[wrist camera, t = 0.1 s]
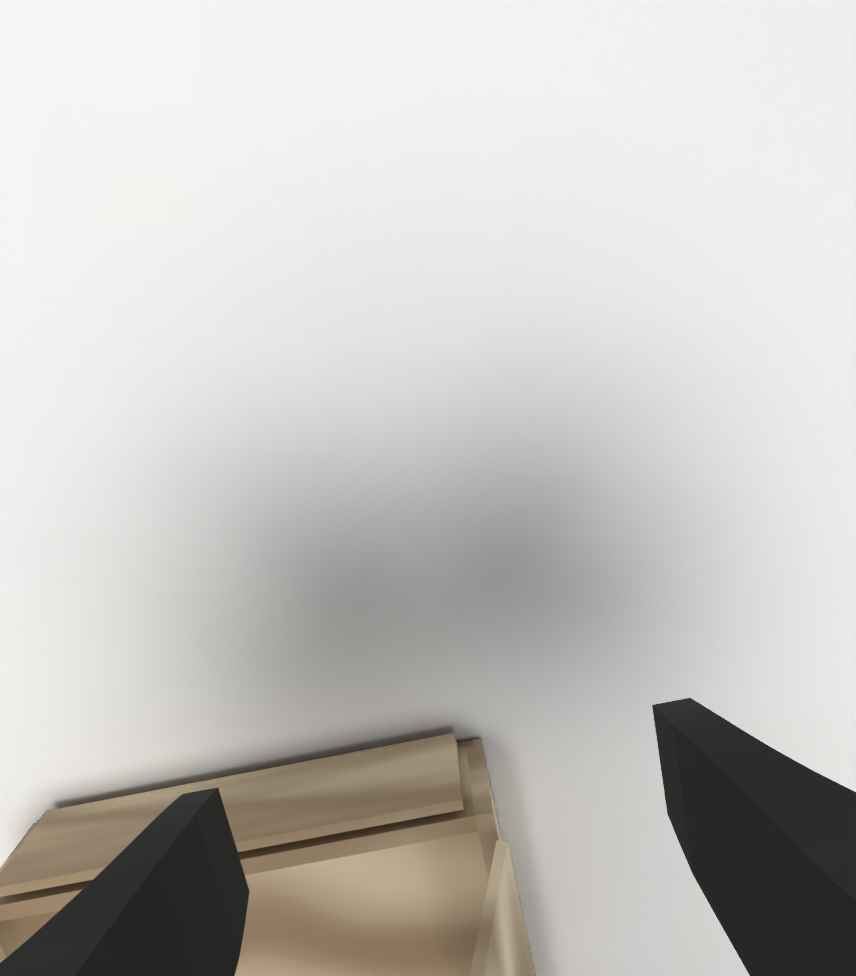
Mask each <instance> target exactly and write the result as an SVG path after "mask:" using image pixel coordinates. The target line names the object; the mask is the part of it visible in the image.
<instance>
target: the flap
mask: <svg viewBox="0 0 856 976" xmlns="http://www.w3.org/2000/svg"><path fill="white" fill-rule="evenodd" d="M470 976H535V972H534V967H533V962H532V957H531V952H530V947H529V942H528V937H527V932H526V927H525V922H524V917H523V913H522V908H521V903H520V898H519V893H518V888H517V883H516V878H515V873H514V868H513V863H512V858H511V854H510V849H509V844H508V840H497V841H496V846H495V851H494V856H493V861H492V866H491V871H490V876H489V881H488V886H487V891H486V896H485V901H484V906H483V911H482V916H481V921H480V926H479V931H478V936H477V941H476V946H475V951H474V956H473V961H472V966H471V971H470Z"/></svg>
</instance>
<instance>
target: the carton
mask: <svg viewBox="0 0 856 976" xmlns="http://www.w3.org/2000/svg"><path fill="white" fill-rule="evenodd" d="M217 787H218V788H219V792H220V795H221V798H222V802H223V805H224V808H225V812H226V815H227V818H228V822H229V825H230V828H231V832H232V835H233V838H234V841H235V845H236V848H237V851H238V855H239V858H240V861H241V865H242V868H243V871H244V875H245V878H246V881H247V885H248V888H249V891H250V892H249V899H248V906H247V913H246V920H245V927H244V933H243V939H242V945H241V951H240V957H239V961H238V964H237V968H236V972H235V976H470V971H471V966H472V961H473V956H474V951H475V946H476V941H477V936H478V931H479V926H480V921H481V916H482V911H483V906H484V901H485V896H486V891H487V886H488V881H489V876H490V871H491V866H492V861H493V856H494V851H495V846H496V841H497V840H502V838H501V833H500V828H499V824H498V819H497V814H496V809H495V804H494V799H493V794H492V790H491V785H490V780H489V775H488V770H487V765H486V760H485V756H484V751H483V746H482V741H481V738H480V739H474V740H469V741H464V742H459V743H457V741H456V736H455V733H450V734H445V735H440V736H435V737H429V738H424V739H419V740H414V741H409V742H403V743H398V744H393V745H388V746H383V747H377V748H372V749H367V750H362V751H356V752H351V753H346V754H341V755H336V756H330V757H325V758H320V759H315V760H309V761H304V762H299V763H294V764H289V765H283V766H278V767H273V768H268V769H262V770H257V771H252V772H247V773H242V774H236V775H231V776H226V777H221V778H215V779H210V780H205V781H200V782H195V783H189V784H184V785H179V786H174V787H169V788H163V789H158V790H153V791H148V792H142V793H137V794H132V795H127V796H122V797H116V798H111V799H106V800H101V801H95V802H90V803H85V804H80V805H75V806H69V807H64V808H59V809H54V810H48V811H46V812H45V813H44V815H43V816H42V817H41V819H40V820H39V822H38V823H35V824H33V825H32V827H31V828H30V829H29V831H28V832H27V833H26V835H25V836H24V837H23V839H22V840H21V841H20V843H19V844H18V845H17V847H16V848H15V849H14V851H13V852H12V853H11V855H10V856H9V857H8V859H7V860H6V861H5V863H4V864H3V865H2V867H1V868H0V963H1V962H2V961H3V960H4V959H5V958H7V957H8V956H9V955H10V954H11V953H13V952H14V951H15V950H16V949H17V948H19V947H20V946H21V945H22V944H23V943H24V942H26V941H27V940H28V939H29V938H30V937H31V936H32V935H34V934H35V933H36V932H37V931H38V930H39V929H40V928H41V927H42V926H43V925H44V924H46V923H47V922H48V921H49V920H50V919H51V918H52V917H53V916H54V915H55V914H57V913H58V912H59V911H60V910H61V909H62V908H63V907H64V906H65V905H66V904H67V903H69V902H70V901H71V900H72V899H73V898H74V897H75V896H76V895H77V894H78V893H79V892H81V891H82V890H83V889H84V888H85V887H86V886H87V885H88V884H89V883H90V882H91V881H92V880H93V879H94V878H95V877H96V876H97V875H98V874H99V873H100V872H101V871H102V870H103V869H104V868H106V867H107V866H108V865H109V864H110V863H111V862H112V861H113V860H114V859H115V858H116V857H117V856H118V855H119V854H120V853H121V852H122V851H123V850H124V849H125V848H126V847H127V846H128V845H129V844H130V843H131V842H132V841H133V840H134V839H135V838H136V837H137V836H138V835H139V834H140V833H141V832H142V831H143V830H144V829H145V828H146V827H147V826H148V825H149V824H150V823H151V822H152V821H153V820H154V819H155V818H156V817H157V816H158V815H159V814H160V813H162V812H163V811H164V810H165V809H166V808H167V807H168V806H169V805H170V804H171V803H172V802H173V801H175V800H176V799H177V798H178V797H179V796H181V795H182V794H185V793H191V792H196V791H201V790H206V789H212V788H217Z"/></svg>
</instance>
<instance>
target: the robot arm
mask: <svg viewBox="0 0 856 976" xmlns="http://www.w3.org/2000/svg"><path fill="white" fill-rule="evenodd" d="M652 706H653V713H654V720H655V727H656V734H657V741H658V749H659V756H660V763H661V770H662V777H663V784H664V791H665V798H666V806H667V813H668V816H669V818H670V821H671V823H672V826H673V828H674V831H675V833H676V835H677V838H678V840H679V843H680V845H681V848H682V850H683V852H684V854H685V857H686V859H687V861H688V864H689V866H690V868H691V871H692V873H693V875H694V877H695V879H696V880H697V882H698V884H699V886H700V888H701V890H702V891H703V893H704V895H705V897H706V898H707V900H708V902H709V904H710V906H711V907H712V909H713V911H714V913H715V915H716V916H717V918H718V920H719V922H720V923H721V925H722V927H723V929H724V931H725V932H726V934H727V936H728V938H729V939H730V941H731V943H732V945H733V946H734V948H735V950H736V952H737V953H738V955H739V957H740V959H741V961H742V962H743V964H744V966H745V968H746V969H747V971H748V973H749V975H750V976H856V792H854V791H852V790H850V789H848V788H846V787H844V786H842V785H840V784H838V783H836V782H834V781H832V780H830V779H828V778H826V777H824V776H822V775H820V774H818V773H816V772H814V771H812V770H811V769H809V768H807V767H805V766H803V765H801V764H800V763H798V762H796V761H794V760H792V759H790V758H789V757H787V756H785V755H783V754H782V753H780V752H778V751H776V750H775V749H773V748H771V747H769V746H768V745H766V744H764V743H763V742H761V741H759V740H758V739H756V738H754V737H753V736H751V735H749V734H748V733H746V732H744V731H743V730H741V729H740V728H738V727H736V726H735V725H733V724H731V723H730V722H728V721H727V720H725V719H723V718H722V717H720V716H719V715H717V714H715V713H714V712H712V711H711V710H709V709H707V708H706V707H704V706H702V705H701V704H699V703H698V702H696V701H694V700H692V699H691V698H688V699H682V700H677V701H672V702H666V703H661V704H656V705H652ZM249 892H250V891H249V888H248V885H247V881H246V878H245V875H244V871H243V868H242V865H241V861H240V858H239V855H238V851H237V848H236V845H235V841H234V838H233V835H232V832H231V828H230V825H229V822H228V818H227V815H226V812H225V808H224V805H223V802H222V798H221V795H220V792H219V788H218V787H217V788H212V789H206V790H201V791H196V792H191V793H185V794H182V795H181V796H179V797H178V798H177V799H176V800H175V801H173V802H172V803H171V804H170V805H169V806H168V807H167V808H166V809H165V810H164V811H163V812H162V813H160V814H159V815H158V816H157V817H156V818H155V819H154V820H153V821H152V822H151V823H150V824H149V825H148V826H147V827H146V828H145V829H144V830H143V831H142V832H141V833H140V834H139V835H138V836H137V837H136V838H135V839H134V840H133V841H132V842H131V843H130V844H129V845H128V846H127V847H126V848H125V849H124V850H123V851H122V852H121V853H120V854H119V855H118V856H117V857H116V858H115V859H114V860H113V861H112V862H111V863H110V864H109V865H108V866H107V867H106V868H104V869H103V870H102V871H101V872H100V873H99V874H98V875H97V876H96V877H95V878H94V879H93V880H92V881H91V882H90V883H89V884H88V885H87V886H86V887H85V888H84V889H83V890H82V891H81V892H79V893H78V894H77V895H76V896H75V897H74V898H73V899H72V900H71V901H70V902H69V903H67V904H66V905H65V906H64V907H63V908H62V909H61V910H60V911H59V912H58V913H57V914H55V915H54V916H53V917H52V918H51V919H50V920H49V921H48V922H47V923H46V924H44V925H43V926H42V927H41V928H40V929H39V930H38V931H37V932H36V933H35V934H34V935H32V936H31V937H30V938H29V939H28V940H27V941H26V942H24V943H23V944H22V945H21V946H20V947H19V948H17V949H16V950H15V951H14V952H13V953H11V954H10V955H9V956H8V957H7V958H5V959H4V960H3V961H2V962H1V963H0V976H235V972H236V968H237V964H238V961H239V957H240V951H241V945H242V939H243V933H244V927H245V920H246V913H247V906H248V899H249Z"/></svg>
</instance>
